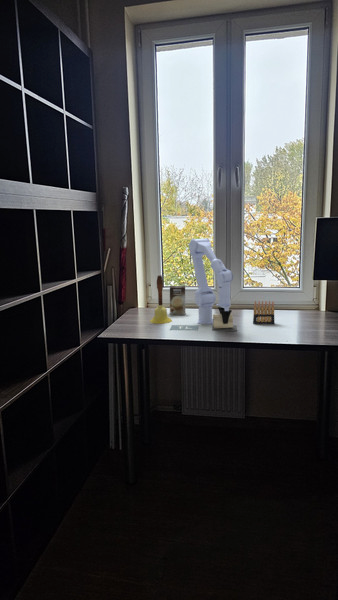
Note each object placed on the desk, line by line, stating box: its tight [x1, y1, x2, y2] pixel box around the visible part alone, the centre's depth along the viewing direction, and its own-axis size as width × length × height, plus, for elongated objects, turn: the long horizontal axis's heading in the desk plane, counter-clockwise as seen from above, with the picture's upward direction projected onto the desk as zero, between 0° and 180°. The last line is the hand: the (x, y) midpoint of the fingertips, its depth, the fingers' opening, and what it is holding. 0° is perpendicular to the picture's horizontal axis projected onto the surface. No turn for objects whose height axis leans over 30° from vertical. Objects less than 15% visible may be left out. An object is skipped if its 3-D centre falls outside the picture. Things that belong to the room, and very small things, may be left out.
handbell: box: [149, 274, 173, 325], centre depth 221 cm, size 12×12×25 cm
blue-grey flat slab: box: [169, 324, 200, 331], centre depth 208 cm, size 10×14×1 cm
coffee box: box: [169, 285, 186, 316], centre depth 239 cm, size 9×6×16 cm
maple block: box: [212, 313, 234, 328], centre depth 204 cm, size 5×9×6 cm, turn 91°
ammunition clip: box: [252, 300, 276, 325], centre depth 212 cm, size 11×2×12 cm, turn 86°
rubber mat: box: [211, 324, 238, 332], centre depth 205 cm, size 10×12×1 cm
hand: (224, 322), depth 205 cm, fingers closed on maple block, 5 cm apart
